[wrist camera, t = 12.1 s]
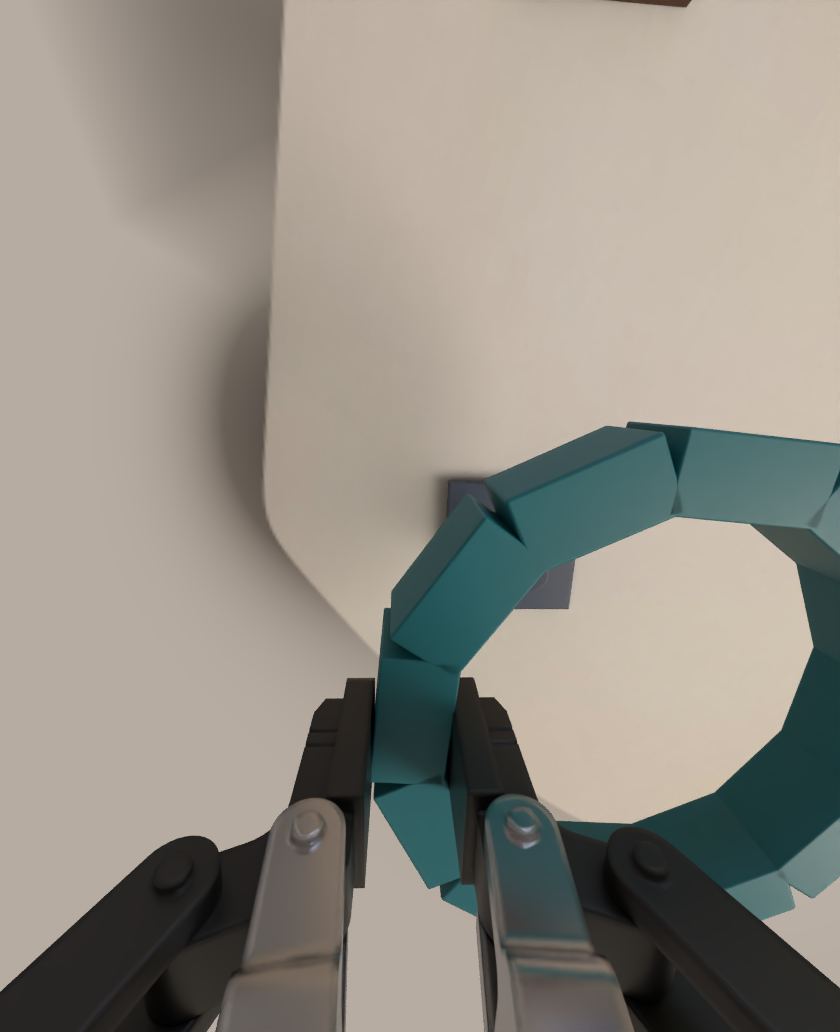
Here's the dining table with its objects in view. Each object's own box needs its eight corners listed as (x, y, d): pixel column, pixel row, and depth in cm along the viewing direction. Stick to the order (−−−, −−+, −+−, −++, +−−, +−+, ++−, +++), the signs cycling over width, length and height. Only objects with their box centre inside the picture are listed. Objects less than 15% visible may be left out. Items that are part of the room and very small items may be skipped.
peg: (442, 604, 26) (451, 645, 21) (448, 480, 24) (459, 497, 20) (565, 604, 26) (598, 645, 22) (580, 483, 24) (621, 500, 20)
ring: (360, 856, 14) (353, 947, 11) (404, 396, 10) (405, 394, 8) (775, 869, 15) (845, 956, 13) (950, 457, 11) (1094, 472, 9)
